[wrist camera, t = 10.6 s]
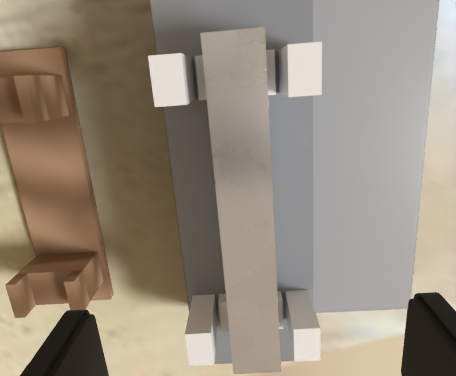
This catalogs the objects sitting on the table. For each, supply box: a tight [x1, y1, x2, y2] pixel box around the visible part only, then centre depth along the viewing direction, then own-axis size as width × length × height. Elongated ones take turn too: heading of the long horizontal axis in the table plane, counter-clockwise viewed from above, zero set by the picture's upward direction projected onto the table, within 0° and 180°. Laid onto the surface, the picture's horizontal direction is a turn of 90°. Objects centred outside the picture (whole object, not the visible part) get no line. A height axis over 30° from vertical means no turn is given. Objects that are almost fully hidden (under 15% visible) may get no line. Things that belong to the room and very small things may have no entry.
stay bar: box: [200, 27, 281, 374], centre depth 21 cm, size 20×3×3 cm, turn 5°
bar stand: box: [0, 47, 113, 318], centre depth 28 cm, size 22×6×6 cm, turn 4°
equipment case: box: [148, 0, 439, 366], centre depth 24 cm, size 26×19×11 cm
